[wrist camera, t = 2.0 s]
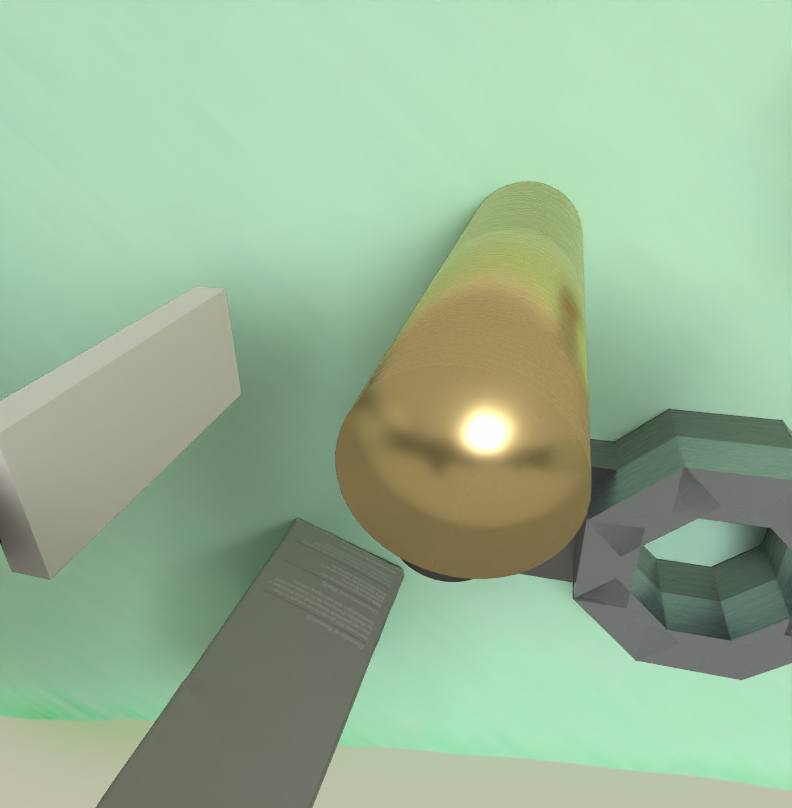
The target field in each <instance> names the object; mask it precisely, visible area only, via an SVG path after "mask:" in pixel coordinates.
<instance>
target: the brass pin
mask: <svg viewBox="0 0 792 808" xmlns="http://www.w3.org/2000/svg"><path fill="white" fill-rule="evenodd" d="M335 466H336V472H337V479H338V482H339V486H340V489H341V492H342V494H343V497H344V499H345V501H346V503H347V505H348V507H349V509H350V510H351V512H352V513H353V515H354V517H355V518H356V519H357V521H358V522H359V523H360V524H361V526H362V527H363V528H364V529H365V530H366V531H367V532H368V533H369V534H370V535H371V536H372V537H373V538H374V539H375V540H376V541H377V542H379V543H380V544H381V545H382V546H383V547H385V548H386V549H388V550H389V551H391V552H392V553H393V554H395V555H396V556H398V557H400V558H402V559H404V560H406V561H407V562H409V563H411V564H414V565H416V566H418V567H421V568H423V569H426V570H429V571H432V572H435V573H439V574H443V575H448V576H452V577H460V578H468V579H488V578H499V577H505V576H510V575H515V574H518V573H521V572H524V571H527V570H530V569H532V568H534V567H536V566H539V565H541V564H543V563H544V562H546V561H547V560H549V559H551V558H552V557H554V556H555V555H556V554H557V553H559V552H560V551H561V550H562V549H564V548H565V546H566V545H567V544H568V543H569V542H570V541H571V540H572V539H573V538H574V536H575V535H576V533H577V532H578V530H579V529H580V527H581V525H582V523H583V521H584V519H585V516H586V514H587V511H588V507H589V503H590V498H591V486H592V484H591V456H590V428H589V399H588V371H587V343H586V315H585V287H584V259H583V233H582V225H581V220H580V217H579V215H578V212H577V210H576V209H575V207H574V205H573V204H572V203H571V201H570V200H569V199H568V198H567V197H566V196H565V195H564V194H563V193H561V192H560V191H559V190H557V189H555V188H553V187H551V186H549V185H546V184H543V183H539V182H531V181H527V182H517V183H513V184H509V185H506V186H504V187H502V188H500V189H498V190H497V191H495V192H494V193H492V194H491V195H490V196H489V197H487V198H486V200H485V201H484V202H483V203H482V204H481V205H480V207H479V208H478V210H477V211H476V213H475V214H474V216H473V218H472V219H471V221H470V222H469V224H468V225H467V227H466V229H465V230H464V232H463V233H462V235H461V237H460V238H459V240H458V241H457V243H456V244H455V246H454V248H453V249H452V251H451V252H450V254H449V255H448V257H447V259H446V260H445V262H444V263H443V265H442V266H441V268H440V270H439V271H438V273H437V274H436V276H435V278H434V279H433V281H432V282H431V284H430V285H429V287H428V289H427V290H426V292H425V293H424V295H423V296H422V298H421V300H420V301H419V303H418V304H417V306H416V307H415V309H414V311H413V312H412V314H411V315H410V317H409V319H408V320H407V322H406V323H405V325H404V326H403V328H402V330H401V331H400V333H399V334H398V336H397V337H396V339H395V341H394V342H393V344H392V345H391V347H390V348H389V350H388V352H387V353H386V355H385V356H384V358H383V360H382V361H381V363H380V364H379V366H378V367H377V369H376V371H375V372H374V374H373V375H372V377H371V378H370V380H369V382H368V383H367V385H366V386H365V388H364V389H363V391H362V393H361V394H360V396H359V397H358V399H357V401H356V402H355V404H354V405H353V407H352V408H351V410H350V412H349V413H348V415H347V417H346V419H345V421H344V423H343V425H342V427H341V430H340V433H339V436H338V439H337V446H336V452H335Z"/></svg>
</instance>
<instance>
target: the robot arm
mask: <svg viewBox="0 0 792 808" xmlns="http://www.w3.org/2000/svg"><path fill="white" fill-rule="evenodd" d="M240 395H241V387H240V381H239V374H238V367H237V361H236V354H235V348H234V341H233V335H232V328H231V321H230V315H229V308H228V302H227V295H226V289H225V288H212V287H199V286H196V287H194V288H192V289H191V290H189V291H187V292H185V293H184V294H182V295H180V296H179V297H177V298H175V299H173V300H172V301H170V302H168V303H167V304H165V305H163V306H162V307H160V308H158V309H156V310H155V311H153V312H151V313H150V314H148V315H146V316H144V317H143V318H141V319H139V320H138V321H136V322H134V323H133V324H131V325H129V326H127V327H126V328H124V329H122V330H121V331H119V332H117V333H115V334H114V335H112V336H110V337H109V338H107V339H105V340H104V341H102V342H100V343H98V344H97V345H95V346H93V347H92V348H90V349H88V350H86V351H85V352H83V353H81V354H80V355H78V356H76V357H75V358H73V359H71V360H69V361H68V362H66V363H64V364H63V365H61V366H59V367H57V368H56V369H54V370H52V371H51V372H49V373H47V374H46V375H44V376H42V377H40V378H39V379H37V380H35V381H34V382H32V383H30V384H28V385H27V386H25V387H23V388H22V389H20V390H18V391H16V392H15V393H13V394H11V395H10V396H8V397H6V398H5V399H3V400H1V401H0V544H1V546H2V549H3V551H4V554H5V556H6V558H7V561H8V563H9V565H10V568H11V570H12V572H17V573H22V574H26V575H31V576H36V577H40V578H45V579H50V580H51V579H52V578H53V577H54V576H55V575H56V574H57V573H58V572H59V571H60V570H61V569H62V568H63V567H64V566H65V565H66V564H67V563H68V562H69V561H70V560H71V559H72V558H73V557H74V556H75V555H77V554H78V553H79V552H80V551H81V550H82V549H83V548H84V547H85V546H86V545H87V544H88V543H89V542H90V541H91V540H92V539H93V538H94V537H95V536H96V535H97V534H98V533H99V532H100V531H101V530H102V529H103V528H104V527H105V526H106V525H107V524H108V523H109V522H110V521H111V520H112V519H114V518H115V517H116V516H117V515H118V514H119V513H120V512H121V511H122V510H123V509H124V508H125V507H126V506H127V505H128V504H129V503H130V502H131V501H132V500H133V499H134V498H135V497H136V496H137V495H138V494H139V493H140V492H141V491H142V490H143V489H144V488H145V487H146V486H147V485H148V484H149V483H150V482H152V481H153V480H154V479H155V478H156V477H157V476H158V475H159V474H160V473H161V472H162V471H163V470H164V469H165V468H166V467H167V466H168V465H169V464H170V463H171V462H172V461H173V460H174V459H175V458H176V457H177V456H178V455H179V454H180V453H181V452H182V451H183V450H184V449H185V448H186V447H187V446H189V445H190V444H191V443H192V442H193V441H194V440H195V439H196V438H197V437H198V436H199V435H200V434H201V433H202V432H203V431H204V430H205V429H206V428H207V427H208V426H209V425H210V424H211V423H212V422H213V421H214V420H215V419H216V418H217V417H218V416H219V415H220V414H221V413H222V412H223V411H224V410H225V409H227V408H228V407H229V406H230V405H231V404H232V403H233V402H234V401H235V400H236V399H237V398H238V397H239V396H240Z"/></svg>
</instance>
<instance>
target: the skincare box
mask: <svg viewBox="0 0 792 808" xmlns="http://www.w3.org/2000/svg"><path fill="white" fill-rule="evenodd" d="M403 578H404V573H403V570H402V569H401V568H399V567H397V566H395V565H393V564H390V563H389V562H387V561H385V560H382V559H380V558H378V557H376V556H374V555H372V554H370V553H368V552H366V551H364V550H362V549H360V548H358V547H356V546H354V545H352V544H350V543H348V542H346V541H344V540H342V539H340V538H338V537H336V536H334V535H332V534H330V533H328V532H326V531H324V530H322V529H320V528H318V527H316V526H313V525H311V524H309V523H307V522H305V521H303V520H300V519H296V520H295V521H294V523H293V525H292V526H291V528H290V529H289V531H288V532H287V534H286V535H285V537H284V538H283V540H282V541H281V543H280V544H279V546H278V547H277V549H276V550H275V552H274V553H273V554H272V556H271V557H270V559H269V560H268V562H267V563H266V564H265V566H264V567H263V569H262V570H261V572H260V573H259V574H258V576H257V577H256V579H255V580H254V581H253V583H252V584H251V586H250V587H249V589H248V590H247V591H246V593H245V594H244V596H243V597H242V599H241V600H240V602H239V603H238V604H237V606H236V607H235V609H234V610H233V612H232V613H231V615H230V616H229V617H228V619H227V620H226V622H225V623H224V625H223V626H222V627H221V629H220V630H219V632H218V633H217V635H216V636H215V638H214V639H213V640H212V642H211V643H210V645H209V646H208V648H207V649H206V651H205V652H204V653H203V655H202V656H201V658H200V659H199V661H198V662H197V664H196V665H195V666H194V668H193V669H192V671H191V672H190V674H189V675H188V676H187V678H186V679H185V680H184V681H183V682H182V684H181V685H180V687H179V688H178V690H177V691H176V693H175V694H174V696H173V697H172V698H171V700H170V701H169V703H168V704H167V706H166V707H165V708H164V710H163V711H162V713H161V714H160V716H159V717H158V718H157V720H156V721H155V723H154V724H153V726H152V727H151V728H150V730H149V731H148V733H147V734H146V736H145V737H144V738H143V740H142V741H141V743H140V744H139V746H138V747H137V748H136V750H135V751H134V753H133V754H132V756H131V757H130V758H129V760H128V761H127V763H126V764H125V766H124V767H123V768H122V770H121V771H120V773H119V774H118V775H117V777H116V778H115V780H114V781H113V783H112V784H111V785H110V787H109V788H108V790H107V791H106V793H105V794H104V796H103V797H102V799H101V800H100V802H99V804H98V805H97V807H96V808H312V807H313V804H314V802H315V800H316V797H317V795H318V792H319V789H320V787H321V784H322V782H323V779H324V777H325V774H326V772H327V769H328V767H329V764H330V762H331V759H332V757H333V754H334V752H335V749H336V747H337V744H338V742H339V739H340V737H341V734H342V732H343V729H344V727H345V724H346V722H347V719H348V716H349V714H350V711H351V709H352V706H353V704H354V701H355V698H356V696H357V693H358V691H359V688H360V685H361V683H362V680H363V678H364V675H365V673H366V670H367V667H368V665H369V662H370V660H371V657H372V655H373V652H374V650H375V648H376V645H377V643H378V640H379V638H380V635H381V633H382V630H383V628H384V625H385V622H386V620H387V617H388V615H389V612H390V610H391V607H392V605H393V603H394V600H395V598H396V595H397V593H398V590H399V588H400V585H401V582H402V580H403Z"/></svg>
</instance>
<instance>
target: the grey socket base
mask: <svg viewBox="0 0 792 808" xmlns="http://www.w3.org/2000/svg"><path fill="white" fill-rule="evenodd" d="M590 456H591V484H592V486H591V498H590V503H589V507H588V511H587V514H586V516H585V519H584V521H583V523H582V525H581V527H580V529H579V530H578V532H577V533H576V535H575V536H574V538H573V539H572V540H571V541H570V542H569V543H568V544H567V545H566V546H565V548H564V549H562V550H561V551H560V552H559V553H557V554H556V555H555V556H554V557H552V558H551V559H549V560H547V561H546V562H544V563H543V564H541V565H539V566H536V567H534V568H532V569H530V570H527V571H524V572H521V573H519V574H525V575H531V576H537V577H544V578H550V579H556V580H562V581H568V582H573V600H575V601H576V602H577V603H578V604H579V605H580V606H581V607H582V608H583V609H584V610H585V611H586V612H587V613H588V614H589V615H590V616H591V617H592V618H593V619H594V620H595V621H596V622H597V623H598V624H599V625H600V626H601V627H602V628H603V629H604V630H605V631H606V632H607V633H609V634H610V635H611V636H612V637H613V638H614V639H615V640H616V641H617V642H618V643H619V644H620V645H621V646H622V647H623V648H624V649H625V650H626V651H627V652H628V653H629V654H630V655H631V656H632V657H633V658H634V659H635V660H636V661H642V662H647V663H653V664H658V665H663V666H669V667H674V668H680V669H685V670H690V671H696V672H701V673H707V674H712V675H717V676H723V677H728V678H733V679H739V680H743V679H746V678H749V677H752V676H755V675H758V674H761V673H764V672H767V671H770V670H773V669H776V668H779V667H781V666H784V665H787V664H790V663H792V432H791V431H790V429H789V428H788V427H787V426H786V425H785V423H784V421H782V420H771V419H761V418H751V417H741V416H731V415H721V414H711V413H701V412H691V411H681V410H671V409H668V410H667V411H666V412H664V413H662V414H661V415H659V416H657V417H656V418H654V419H652V420H651V421H649V422H648V423H646V424H644V425H643V426H641V427H639V428H638V429H636V430H634V431H633V432H631V433H629V434H628V435H626V436H624V437H623V438H621V439H619V440H618V441H616V442H609V441H600V440H591V439H590ZM698 518H700V519H708V520H715V521H723V522H730V523H737V524H745V525H752V526H760V527H767V528H768V531H767V534H766V537H765V539H764V542H763V545H761V546H759V547H757V548H754V549H752V550H750V551H748V552H745V553H743V554H741V555H739V556H736V557H734V558H732V559H730V560H727V561H725V562H723V563H721V564H718V565H716V566H714V567H705V566H699V565H692V564H685V563H679V562H672V561H665V560H659V559H655V558H654V557H653V555H652V554H651V553H650V552H649V551H648V550H647V549H646V548H645V547H644V546H643V545H645V544H647V543H649V542H651V541H653V540H655V539H657V538H659V537H661V536H663V535H665V534H667V533H669V532H671V531H673V530H675V529H677V528H680V527H682V526H684V525H686V524H688V523H690V522H692V521H694V520H696V519H698ZM401 559H402V558H401ZM402 560H403V561H404V562H405V563H406V564H407V565H408V566H409V567H410V568H412V569H413V570H415V571H416V572H418V573H420V574H422V575H424V576H427V577H429V578H432V579H435V580H440V581H446V582H461V581H467V580H471V579H468V578H460V577H452V576H448V575H443V574H439V573H435V572H432V571H429V570H426V569H423V568H421V567H418V566H416V565H414V564H411V563H409V562H407V561H406V560H404V559H402Z"/></svg>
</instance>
